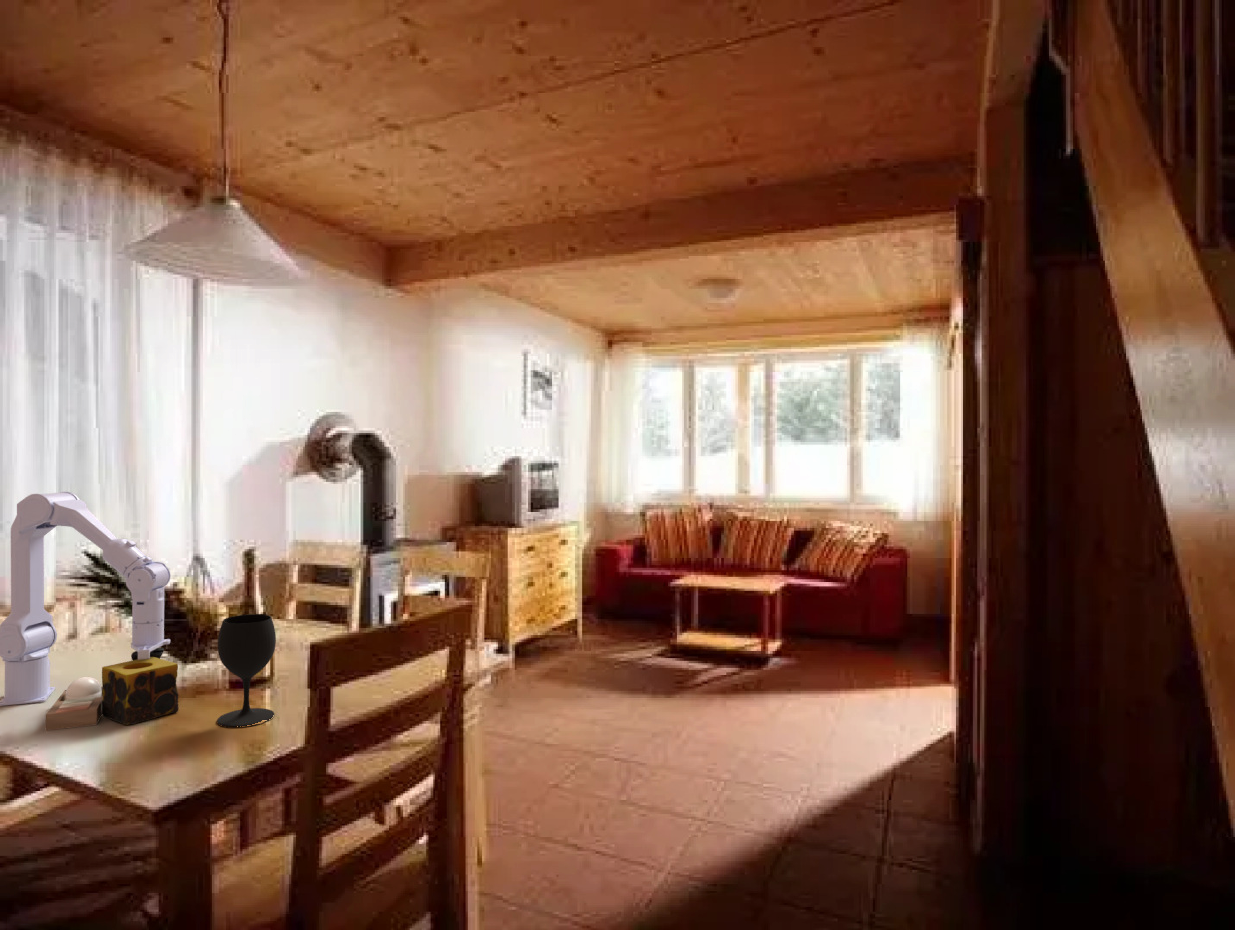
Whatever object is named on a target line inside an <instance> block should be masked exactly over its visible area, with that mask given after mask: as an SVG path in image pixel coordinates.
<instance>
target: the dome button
mask: <svg viewBox="0 0 1235 930" xmlns="http://www.w3.org/2000/svg"><path fill="white" fill-rule="evenodd" d="M101 687H102V684H101V682H99V680H97V679H96V678H94V677H89V676H83V677H80V678H77V679H75V680H73V681H72V682H71V683H69V685H68V686H67V689H65V690H66V700H70V699H81V698H91V697H95V698H98V697H102V688H101Z"/></svg>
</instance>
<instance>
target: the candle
mask: <svg viewBox="0 0 1235 930" xmlns="http://www.w3.org/2000/svg"><path fill="white" fill-rule="evenodd" d="M178 669H179V665H178V663H177V662H172V661H169V660H165V659H162V658H160V659H159V658H156V657H150V658H149V659H140V660H138V659H137V660H129V661H124V662H119V663H116V664H115V663H114V664H110V665H105V666H101V687H103V701H102V716H103V717H105V718H107V719H110V720H112V721H114V722H117V723H120V724H122V725H125V726H128V725H133V724H137V723H141V722H145V721H149V720H153V719H155V718H159V717H161V716H166V715H171V714H175V713H179V692H178V687H177V678H178Z"/></svg>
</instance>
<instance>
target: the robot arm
mask: <svg viewBox="0 0 1235 930" xmlns="http://www.w3.org/2000/svg"><path fill="white" fill-rule="evenodd" d="M57 526H59V527H60V526H61V527H71V528H73V529H74V530H75V531H77V532H78V534H79V533H80V535H82V536H83V537H85V538H86V539H87V540H88V541H90V542H91V543H93V544H94V545H95V546H97V547H98V548H99V549H101V551H102V559H103V561H105V562H106V563H107V564H109V566H111V567H112V568H113V569H114V570H116V571H117V572H118V573H119V574H120V575H121V576H123V578H125V584H126V587H127V589H128V590H129V591H130V594H131V600H132V609H131V610H132V613H131V614H132V616H131V618H132V619H131V621H132V623H131V643H130V647H131V649H132V650H134V651H133V652H132V653H131V654H130V657H131V661H133V660H137V659H138V660H140V659H149V658H150V657H156V658H159V659H162V656H163V654H164V652H165V648H164V647H162V646H165V645H170V643H171V639H170V638H167V639H165V630H164V629H165V587H166V586H167V585H168V584H169V583H170V580H171V571H170V569H169V568H168V567H167V566H166V563H164V562H161V561H154V560H153V558H152V557H151V556H147V555H146V554H145V553H144V552H142V550H140V549H139V548H138V547H137V546H136V545H137V543H136V542H135V541H134V540H133V539H132V540H131V539H130V540H129V539H127V538H117V537H116V536H115V535H114V534H113V533H112V531H110V530H109V528H107V527H106V526H105V525H104V524H103V522H101V521H100V520H99V519H98V518H97V517H96V516H95V515H94V514H93V513H92V512H91V511H90V510H89V509H88V506H87V503H86V502H85V501H83V500H81V499H80V498H79V497H78V495H77V494H75V493H73V492H70V491H62V492H53V493H31V494H29V495H27V496H26V497H24V498H23V499H22V500H20V501H19V502H18V503H16V516H15V518H14V520H13V521H12V525H11V527H10V613H9V615H8V616H7V617H6V618H5V619H4V620H3V621H2V622H1V623H0V657H1V658H2V662H4V697H3V698H2V699H1V700H0V707H1V706H12V705H22V704H23V705H25V704H30V703H31V704H32V703H41V702H46V700H47V699H48V698H49V697H50V696H51V694H52V693H53V692H54V691H55V690H56V686H51V662H50V661H51V660H50V658H49V654H50V653H51V647H52V646H54V644H56V641H57V639H58V632H57V629H56V627H55V624H54V621H53V620H54V619H53V615H52V614H51V613H50V612H48V611H47V610H46V609H45V571H44V569H45V566H44V565H45V560H44V559H45V555H44V554H45V552H44V551H45V547H44V544H45V543H44V540H45V539H44V538H45V536H46V535H47V534H48V533H50V532H51V531H52V530H54V529H55V528H56V527H57Z"/></svg>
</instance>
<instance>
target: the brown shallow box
mask: <svg viewBox="0 0 1235 930" xmlns="http://www.w3.org/2000/svg"><path fill="white" fill-rule="evenodd" d="M101 688H102V697H98V698H95V697H91V698H81V699H70V700H66V690H67V689H64V691H63V692H62V693H61V695H60V696H59V697H58V698H57V700H56V701H55V702H54V703H53V705H52V706H51V707H50V709H49V710H48V711H47V712H46V713H45V730H44V731H52V730H53V731H54V730H60V729H62V730H63V729H69V728H70V729H71V728H78V727H87V726H89V727H90V726H97V724H98V723H99V721H100V719H101V718H102V716H103V714H102V701H103V687H102V686H101Z"/></svg>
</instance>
